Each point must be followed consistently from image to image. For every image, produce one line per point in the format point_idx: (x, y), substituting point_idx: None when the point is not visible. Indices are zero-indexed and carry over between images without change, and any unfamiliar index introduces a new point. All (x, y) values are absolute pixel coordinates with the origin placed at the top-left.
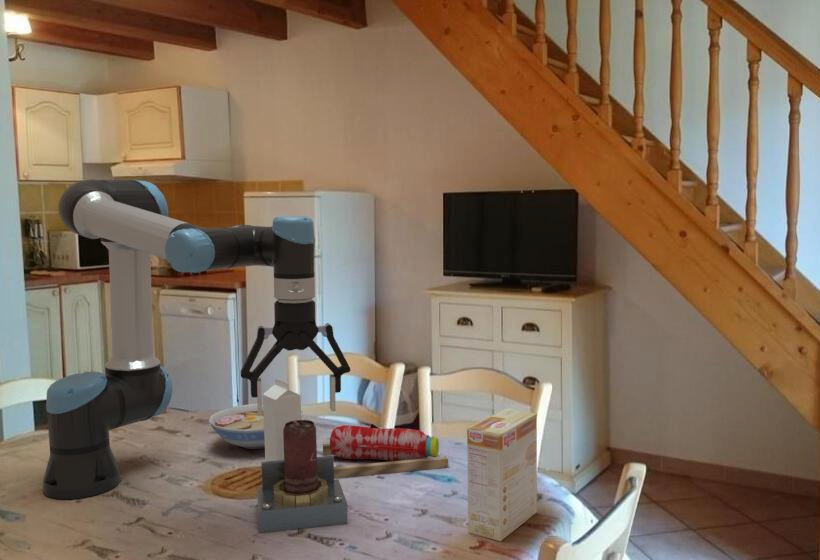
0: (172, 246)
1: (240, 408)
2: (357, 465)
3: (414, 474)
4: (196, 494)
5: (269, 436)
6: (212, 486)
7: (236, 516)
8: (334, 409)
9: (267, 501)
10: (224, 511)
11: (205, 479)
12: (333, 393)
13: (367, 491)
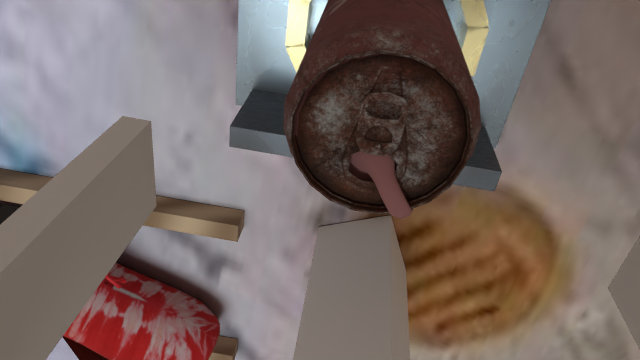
0: None
1: None
2: (165, 224)
3: (26, 151)
4: (600, 257)
5: (403, 351)
6: (543, 284)
7: (565, 80)
8: (124, 122)
9: (511, 13)
10: (582, 128)
11: (541, 325)
12: (59, 189)
13: (163, 96)
